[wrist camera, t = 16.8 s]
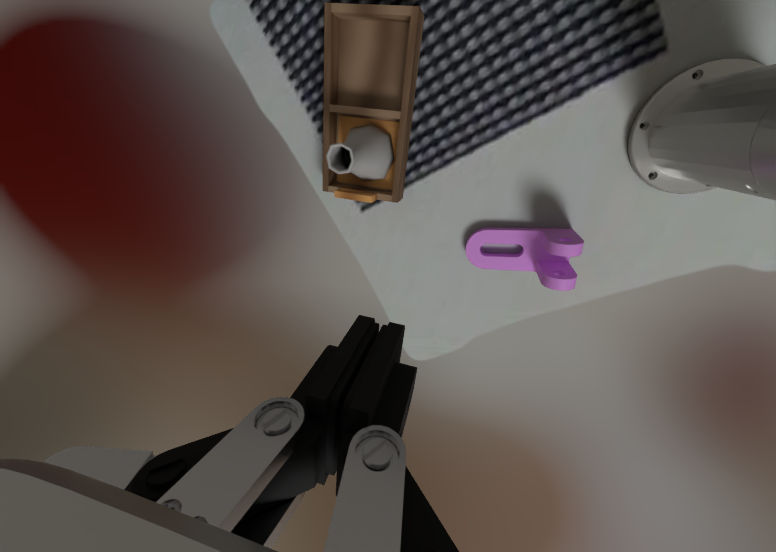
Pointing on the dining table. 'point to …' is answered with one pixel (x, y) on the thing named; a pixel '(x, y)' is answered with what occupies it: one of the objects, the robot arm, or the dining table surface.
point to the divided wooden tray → (370, 87)
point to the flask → (363, 153)
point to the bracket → (530, 252)
